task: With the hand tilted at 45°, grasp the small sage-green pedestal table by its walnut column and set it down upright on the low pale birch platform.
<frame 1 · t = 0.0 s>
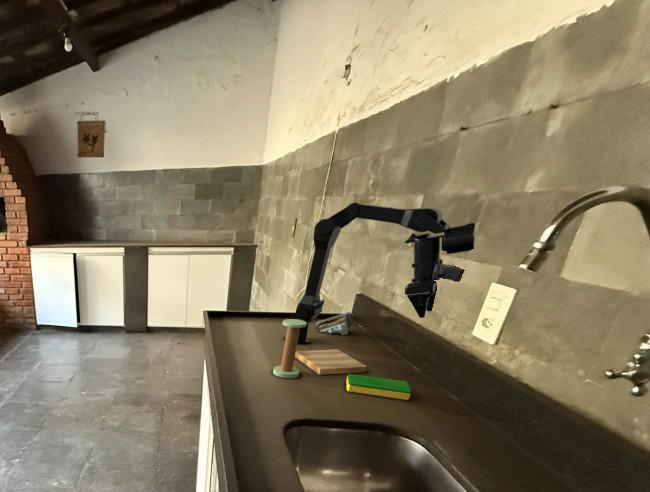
hand: (426, 314, 118), 15 cm above the counter, tool pointing down, fingers open, 9 cm apart
grey streaked wedge: (332, 332, 156), on the counter
dish sponge: (375, 391, 110), on the counter
birch platform: (328, 364, 127), on the counter
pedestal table: (285, 373, 121), on the counter
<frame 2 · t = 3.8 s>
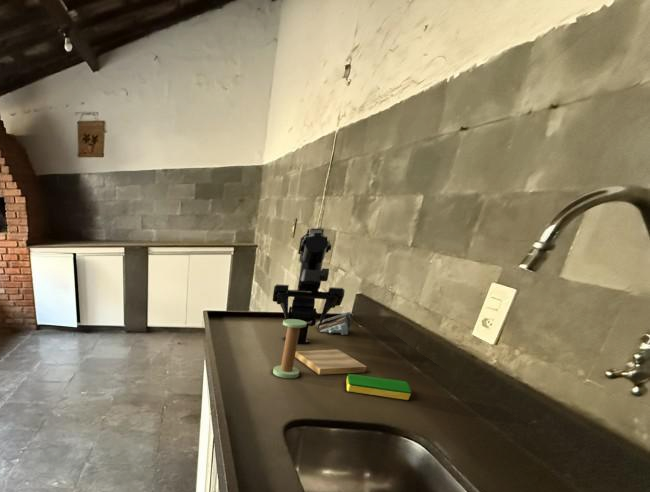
hand: (303, 320, 120), 14 cm above the counter, tool tilted 45°, fingers open, 9 cm apart
nothing on the counter moved.
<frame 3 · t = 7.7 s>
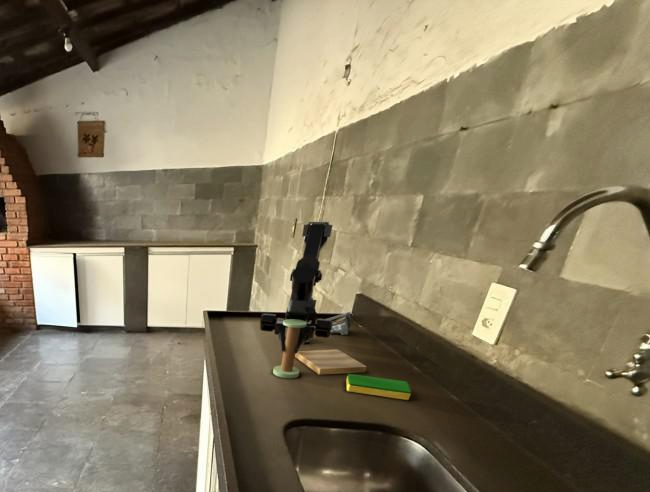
hand: (289, 351, 116), 7 cm above the counter, tool tilted 45°, fingers closed on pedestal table, 3 cm apart
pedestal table: (285, 373, 121), on the counter, touching gripper
everything else where it was.
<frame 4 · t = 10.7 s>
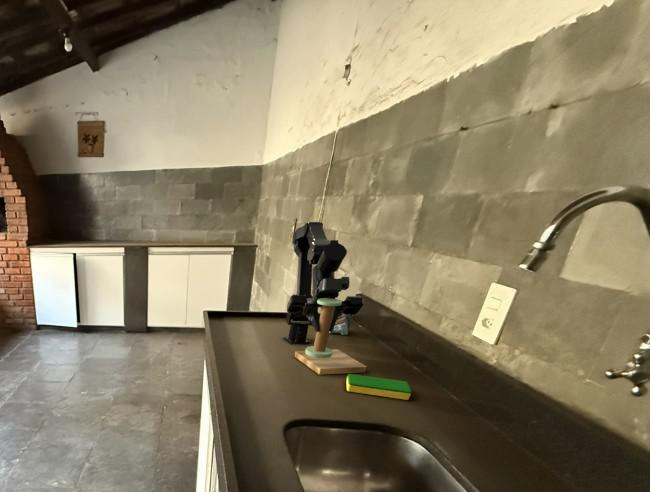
hand: (324, 331, 115), 13 cm above the counter, tool tilted 45°, fingers closed on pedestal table, 3 cm apart
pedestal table: (318, 354, 119), point 6 cm above the counter, touching gripper
everything else where it was.
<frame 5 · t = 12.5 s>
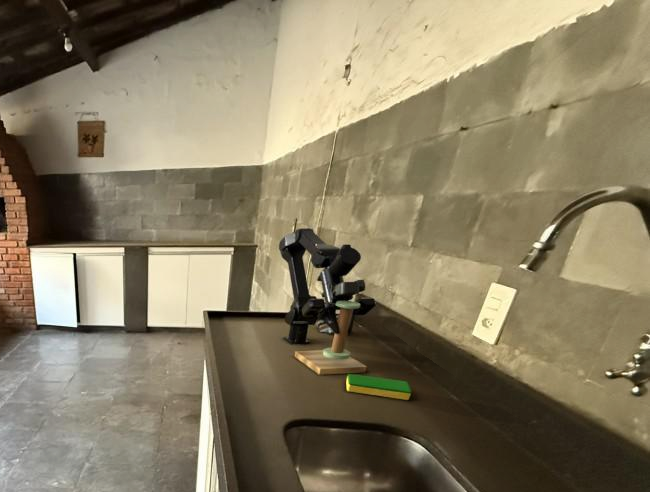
hand: (343, 333, 118), 11 cm above the counter, tool tilted 45°, fingers closed on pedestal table, 3 cm apart
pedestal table: (336, 355, 122), point 4 cm above the counter, touching gripper
everything else where it was.
when the fingers open (9 cm above the counter, at t = 13.6 s): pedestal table stays where it is, resting on birch platform.
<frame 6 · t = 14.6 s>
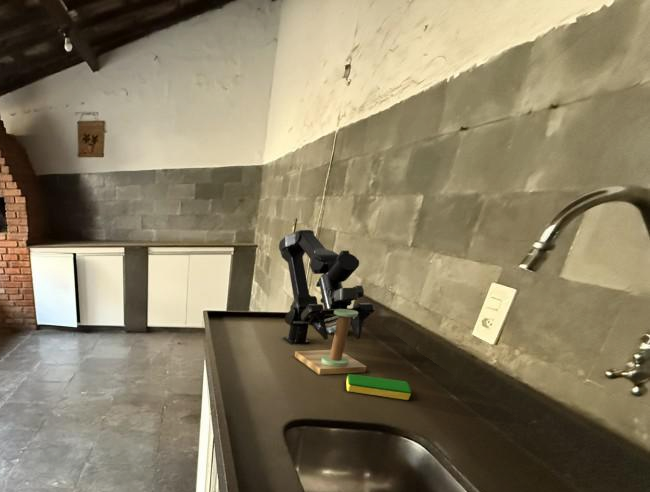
hand: (342, 338, 118), 10 cm above the counter, tool tilted 45°, fingers open, 9 cm apart
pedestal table: (334, 362, 123), point 2 cm above the counter, touching birch platform
everything else where it was.
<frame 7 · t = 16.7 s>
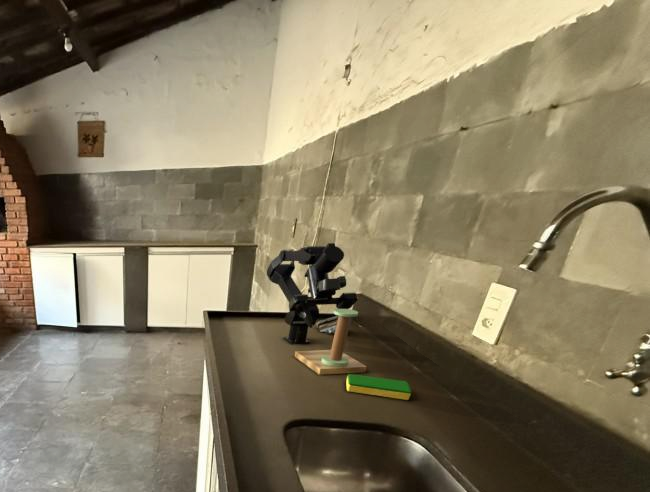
hand: (326, 326, 126), 10 cm above the counter, tool tilted 45°, fingers open, 9 cm apart
nothing on the counter moved.
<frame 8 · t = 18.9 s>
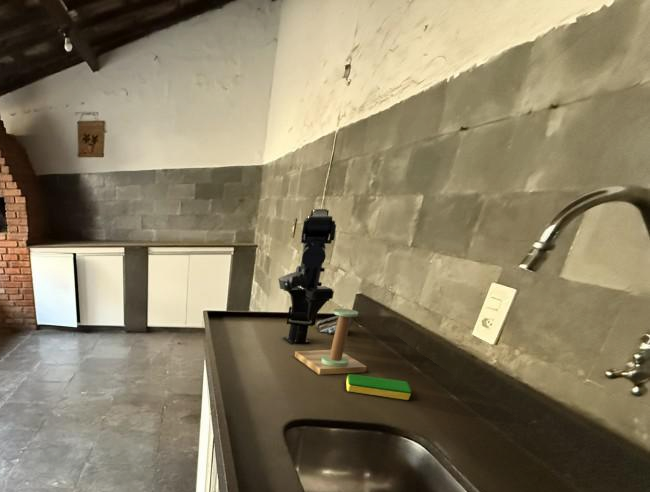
hand: (301, 316, 127), 13 cm above the counter, tool pointing down, fingers open, 9 cm apart
nothing on the counter moved.
at the end: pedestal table inside the target area on the birch platform (3.4 cm from its centre), point 1.8 cm above the birch platform's base; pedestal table tilted 0°; the gripper is holding nothing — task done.
